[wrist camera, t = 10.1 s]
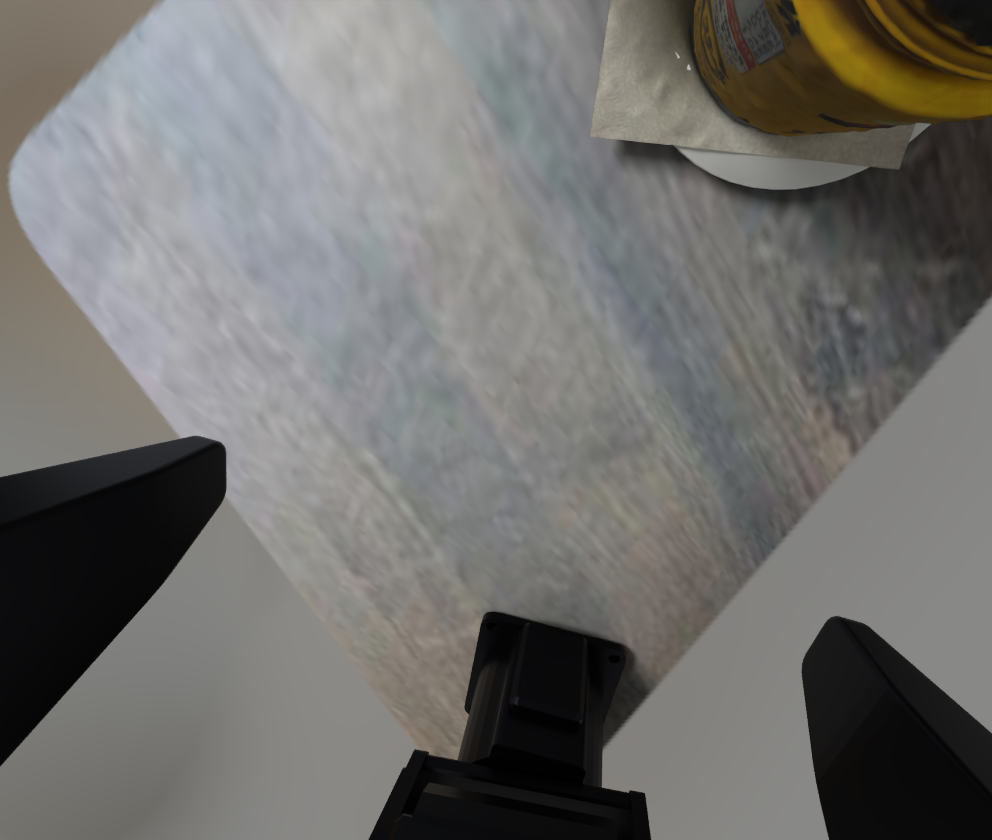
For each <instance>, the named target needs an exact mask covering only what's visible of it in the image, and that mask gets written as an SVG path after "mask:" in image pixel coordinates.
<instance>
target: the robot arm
mask: <svg viewBox="0 0 992 840" xmlns="http://www.w3.org/2000/svg"><path fill="white" fill-rule="evenodd" d="M225 493H226V449H225V446H224V445H223V444H222V443H221V442H219V441H215V440H212V439H208V438H205V437H201V436H191V437H187V438H182V439H177V440H172V441H168V442H163V443H158V444H154V445H149V446H144V447H140V448H135V449H130V450H126V451H121V452H117V453H112V454H107V455H102V456H98V457H93V458H88V459H84V460H79V461H74V462H69V463H65V464H60V465H56V466H51V467H46V468H41V469H37V470H32V471H27V472H22V473H18V474H13V475H9V476H4V477H0V766H1V765H2V764H3V763H4V762H5V761H6V760H7V758H8V757H9V756H10V755H11V754H12V753H13V752H14V751H15V749H16V748H17V747H18V746H19V745H20V744H21V743H22V742H23V740H24V739H25V738H26V737H27V736H28V735H29V734H30V733H31V732H32V730H33V729H34V728H35V727H36V726H37V725H38V724H39V723H40V721H41V720H42V719H43V718H44V717H45V716H46V715H47V714H48V712H49V711H50V710H51V709H52V708H53V707H54V706H55V705H56V704H57V702H58V701H59V700H60V699H61V698H62V696H64V694H65V693H66V692H67V691H68V690H69V689H70V688H71V687H72V686H73V684H74V683H75V682H76V681H77V680H78V679H79V678H80V677H81V676H82V674H83V673H84V672H85V671H86V670H87V669H88V668H89V667H90V665H91V664H92V663H93V662H94V661H95V660H96V659H97V658H98V656H99V655H100V654H101V653H102V652H103V651H104V650H105V649H106V648H107V646H108V645H109V644H110V643H111V642H112V641H113V639H114V638H115V637H116V636H117V635H118V634H119V633H120V632H121V631H122V630H123V628H124V627H125V626H126V625H127V624H128V623H129V622H130V621H131V620H132V618H133V617H134V616H135V615H136V614H137V613H138V612H139V610H140V609H141V608H142V607H143V606H144V605H145V604H146V603H147V602H148V600H149V599H150V598H151V597H152V596H153V595H154V593H155V592H156V591H157V590H158V589H159V588H160V587H161V585H162V584H163V583H164V582H165V580H166V579H167V578H168V576H169V575H170V574H171V573H172V571H173V570H174V569H175V567H176V566H177V564H178V563H179V562H180V560H181V559H182V557H183V556H184V555H185V553H186V552H187V550H188V549H189V548H190V546H191V545H192V544H193V542H194V541H195V539H196V538H197V537H198V535H199V534H200V533H201V531H202V530H203V528H204V527H205V526H206V524H207V523H208V521H209V520H210V518H211V517H212V516H213V515H214V513H215V512H216V510H217V509H218V508H219V506H220V505H221V503H222V501H223V499H224V497H225ZM490 622H493V623H495V624H496V625H494V624H491V623H490ZM612 654H616V655H617V656H612ZM625 662H626V651H625V649H624V647H623V646H621V645H619V644H617V643H613V642H609V641H605V640H601V639H598V638H594V637H590V636H586V635H582V634H578V633H574V632H571V631H567V630H563V629H559V628H555V627H551V626H547V625H544V624H540V623H536V622H532V621H528V620H524V619H520V618H517V617H513V616H509V615H505V614H501V613H497V612H487V613H486V614H484V616H483V619H482V623H481V627H480V632H479V637H478V642H477V647H476V652H475V657H474V662H473V667H472V672H471V677H470V682H469V687H468V692H467V697H466V702H465V711H466V712H467V713H468V714H469V717H468V721H467V725H466V729H465V733H464V737H463V740H462V744H461V748H460V752H459V756H458V760H454V759H449V758H444V757H438V756H433V755H429V752H426V751H421V750H416V749H415V750H414V752H413V754H412V756H411V758H410V760H409V762H408V764H407V766H406V768H403V769H402V771H401V773H400V775H399V778H398V779H397V782H396V784H395V786H394V788H393V790H392V792H391V794H390V796H389V798H388V801H387V802H386V804H385V807H384V808H383V811H382V813H381V815H380V817H379V819H378V821H377V823H376V825H375V827H374V830H373V832H372V834H371V836H370V838H369V840H651V835H650V828H649V820H648V813H647V805H646V798H645V793H642V792H636V791H629V793H627V792H621V791H616V790H611V789H606V788H602V740H603V723H604V720H605V717H606V715H607V712H608V709H609V706H610V704H611V701H612V698H613V695H614V693H615V690H616V687H617V684H618V682H619V679H620V676H621V673H622V670H623V668H624V665H625ZM802 680H803V688H804V695H805V703H806V711H807V719H808V727H809V734H810V742H811V750H812V758H813V765H814V772H815V778H816V784H817V788H818V793H819V798H820V803H821V807H822V811H823V815H824V819H825V824H826V828H827V832H828V837H829V840H992V733H991V732H990V731H988V730H987V729H986V728H985V727H984V726H983V725H982V724H980V723H979V722H978V721H977V720H976V719H975V718H973V717H972V716H971V715H970V714H969V713H968V712H967V711H965V710H964V709H963V708H962V707H961V706H960V705H958V704H957V703H956V702H955V701H954V700H953V699H952V698H950V697H949V696H948V695H947V694H946V693H945V692H944V691H942V690H941V689H940V688H939V687H938V686H936V685H935V684H934V683H933V682H932V681H931V680H930V679H928V678H927V677H926V676H925V675H924V674H923V673H922V672H920V671H919V670H918V669H917V668H916V667H915V666H914V665H912V664H911V663H910V662H909V661H908V660H907V659H905V658H904V657H903V656H902V655H901V654H900V653H899V652H897V651H896V650H895V649H894V648H893V647H891V645H889V644H888V643H887V642H886V641H885V640H884V639H882V638H881V637H880V636H879V635H878V634H876V632H874V631H873V630H872V629H871V628H870V627H868V626H867V625H865V624H863V623H861V622H857V621H854V620H850V619H846V618H842V617H839V616H835V617H831V618H830V619H828V620H827V622H826V623H825V624H824V626H823V627H822V629H821V630H820V632H819V634H818V635H817V637H816V638H815V640H814V642H813V643H812V645H811V646H810V648H809V650H808V651H807V653H806V655H805V657H804V659H803V663H802Z"/></svg>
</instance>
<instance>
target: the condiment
mask: <svg viewBox="0 0 992 840" xmlns="http://www.w3.org/2000/svg"><path fill="white" fill-rule="evenodd" d="M676 53H677V54H678V55H679V57H680V58H678V57H677V55H676ZM688 65H689V66H690V69H691V70H688V69H687V66H688ZM991 116H992V0H611V3H610V11H609V16H608V23H607V29H606V35H605V44H604V49H603V55H602V62H601V68H600V75H599V82H598V90H597V94H596V101H595V107H594V114H593V120H592V127H591V133H590V136H591V137H599V138H608V139H618V140H627V141H636V142H646V143H656V144H665V145H677V146H684V147H693V148H702V149H711V150H720V151H729V152H738V153H748V154H757V155H766V156H776V157H785V158H794V159H804V160H813V161H822V162H831V163H841V164H850V165H859V166H869V167H878V168H888V169H898V170H899V169H900V166H901V163H902V160H903V157H904V154H905V151H906V149H907V147H908V143H909V141H910V138H911V135H912V132H913V130H914V127H915V125H916V123H926V124H934V125H935V124H938V123H940V122H961V121H968V120H982V119H985V118H988V117H991Z"/></svg>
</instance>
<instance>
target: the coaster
mask: <svg viewBox="0 0 992 840" xmlns="http://www.w3.org/2000/svg"><path fill="white" fill-rule="evenodd" d="M676 55H677V57H678V58H680V57H679V55H678V54H677V53H676ZM687 69H688V70H691V69H690V66H689V65H688V66H687ZM929 125H931V124H926V123H916V125H915V127H914V130H913V132H912V135H911V138H910V141H912V140H913V139H914V138H915V137H916V136H918V135H919V134H920V133H921V132H922V131H924V130H925V129H926V128H927V127H928V126H929ZM910 141H909V142H910ZM673 146H674V147H675V148H676V149H677V150H678V152H680V153H681V154H682V155H683V156H684V157H686V158H687V159H688V160H689V161H690V162H692V163H693V164H694V165H696V166H698V167H699V168H701V169H703V170H704V171H706V172H708V173H709V174H711V175H714V176H716V177H718V178H721V179H723V180H726V181H728V182H732V183H736V184H740V185H744V186H748V187H753V188H762V189H771V190H786V189H801V188H807V187H814V186H819V185H823V184H827V183H830V182H834V181H837V180H841V179H843V178H846V177H848V176H851V175H853V174H856V173H858V172H861V171H863V170H865V169H867V168H869V166H859V165H850V164H841V163H831V162H822V161H813V160H804V159H794V158H785V157H776V156H766V155H757V154H748V153H738V152H729V151H720V150H711V149H702V148H693V147H684V146H677V145H673Z"/></svg>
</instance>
